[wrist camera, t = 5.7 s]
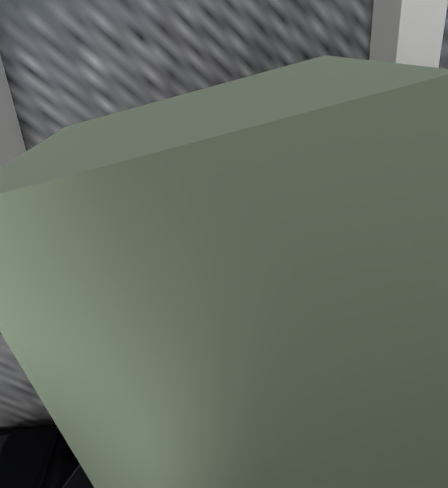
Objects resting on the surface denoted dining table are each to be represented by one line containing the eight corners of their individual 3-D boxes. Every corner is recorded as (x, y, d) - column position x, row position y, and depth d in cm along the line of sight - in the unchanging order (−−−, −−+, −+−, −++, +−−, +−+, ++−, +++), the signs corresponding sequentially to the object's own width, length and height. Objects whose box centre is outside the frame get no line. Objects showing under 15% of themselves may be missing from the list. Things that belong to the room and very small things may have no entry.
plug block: (381, 474, 13) (464, 673, 9) (222, 507, 13) (231, 714, 9) (325, 55, 8) (462, 70, 4) (65, 126, 8) (-72, 213, 4)
